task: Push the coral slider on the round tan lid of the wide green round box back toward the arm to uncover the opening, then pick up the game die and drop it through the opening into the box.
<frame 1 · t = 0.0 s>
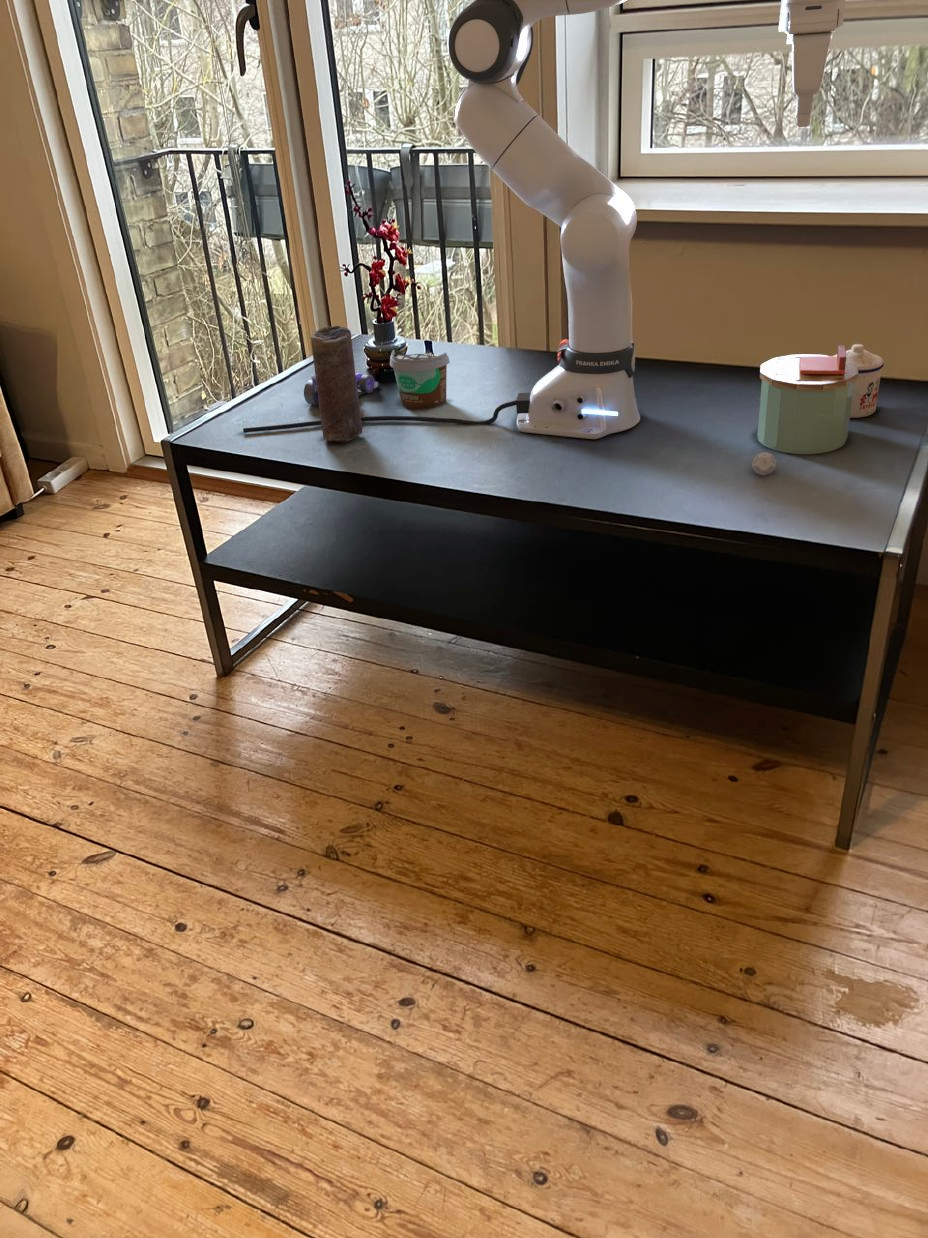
hand: (802, 122, 152), 48 cm above the table, tool pointing down, fingers open, 8 cm apart
round tan lid: (808, 371, 165), on the green round box, point 11 cm above the table
teacup with lid: (852, 408, 181), on the table
green round box: (801, 437, 171), on the table
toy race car: (345, 398, 207), on the table
food container: (418, 406, 199), on the table
game die: (763, 473, 160), on the table
slider: (822, 359, 163), point 14 cm above the table, slide at 0.0 cm
candle: (344, 439, 187), on the table
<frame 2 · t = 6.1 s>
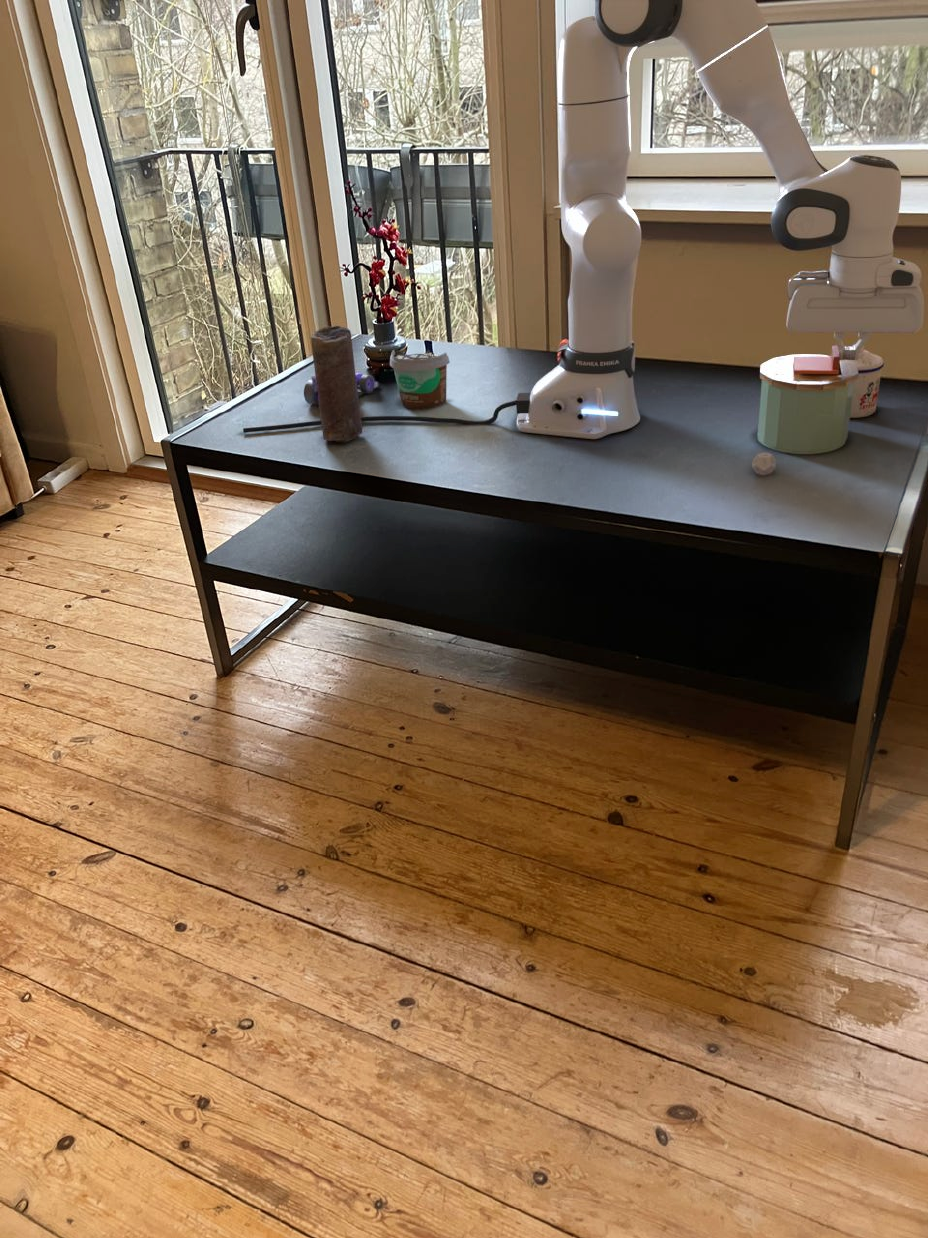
hand: (848, 358, 162), 14 cm above the table, tool pointing down, fingers closed
slider: (816, 358, 164), point 14 cm above the table, slide at 1.0 cm, touching gripper
everything else where it was.
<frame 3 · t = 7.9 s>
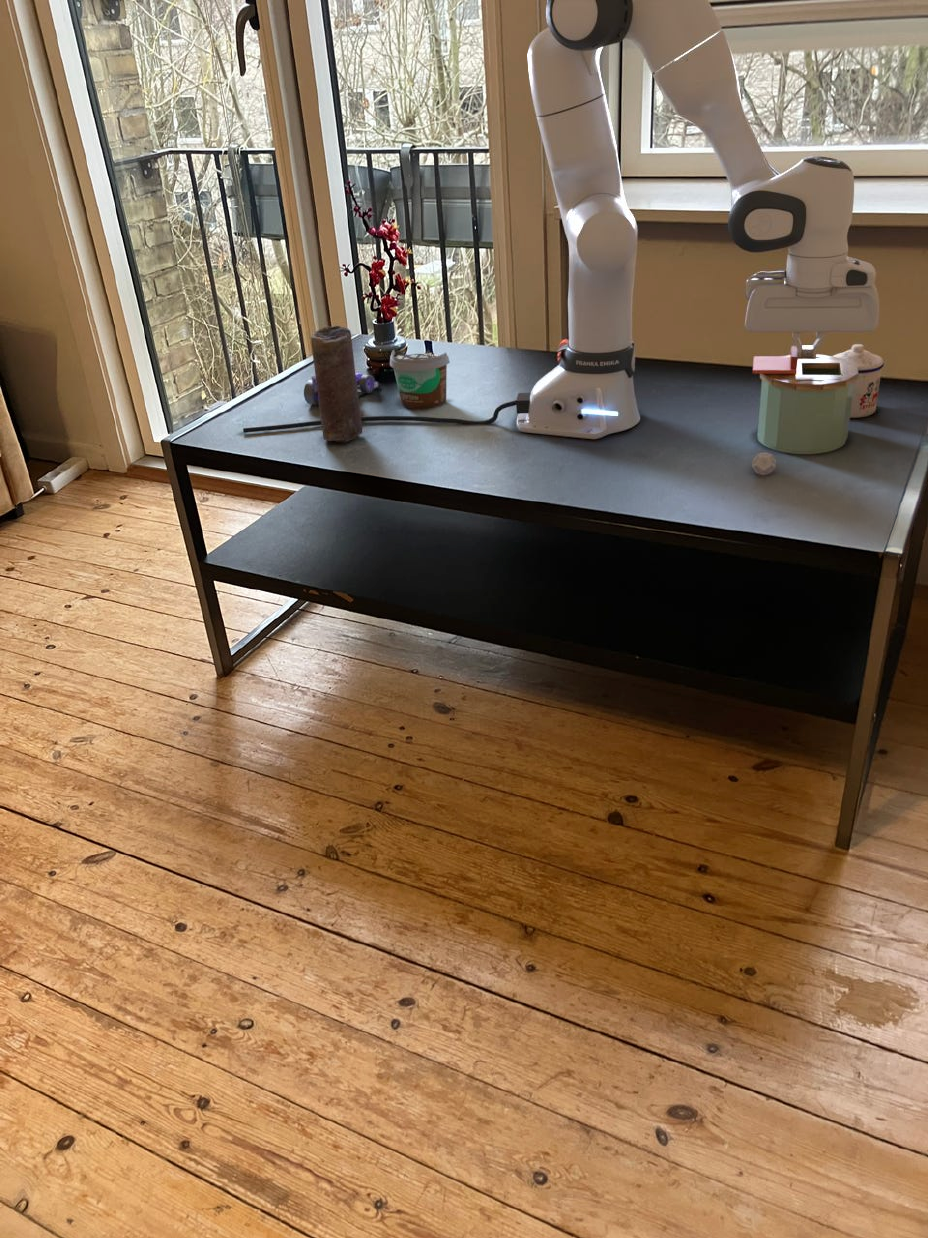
hand: (806, 357, 164), 14 cm above the table, tool pointing down, fingers closed
slider: (775, 358, 165), point 14 cm above the table, slide at 7.4 cm, touching gripper
everything else where it was.
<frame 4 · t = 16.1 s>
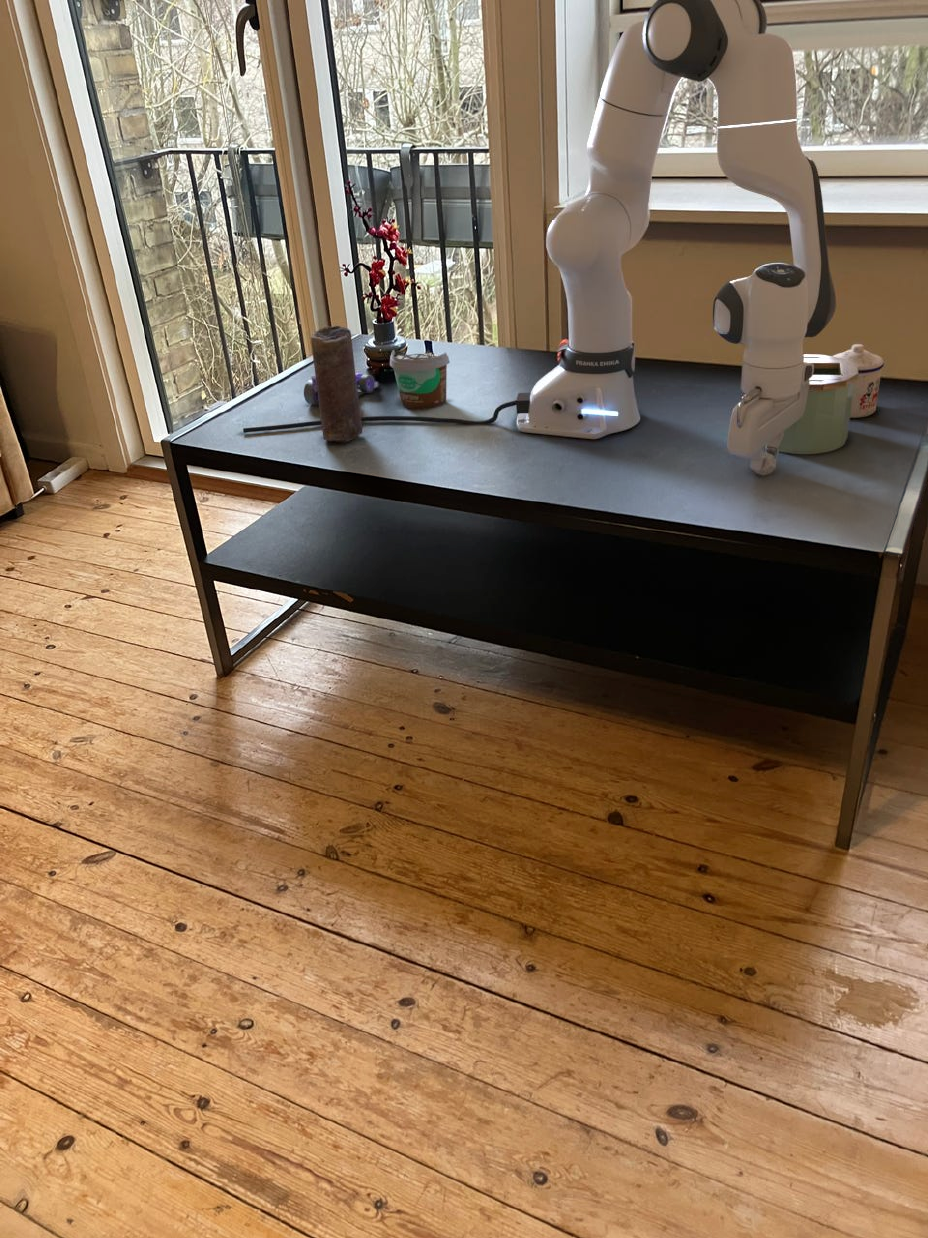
hand: (764, 463, 160), 2 cm above the table, tool pointing down, fingers closed on game die, 3 cm apart
game die: (763, 473, 160), on the table, touching gripper
slider: (773, 358, 165), point 14 cm above the table, slide at 7.6 cm
everything else where it was.
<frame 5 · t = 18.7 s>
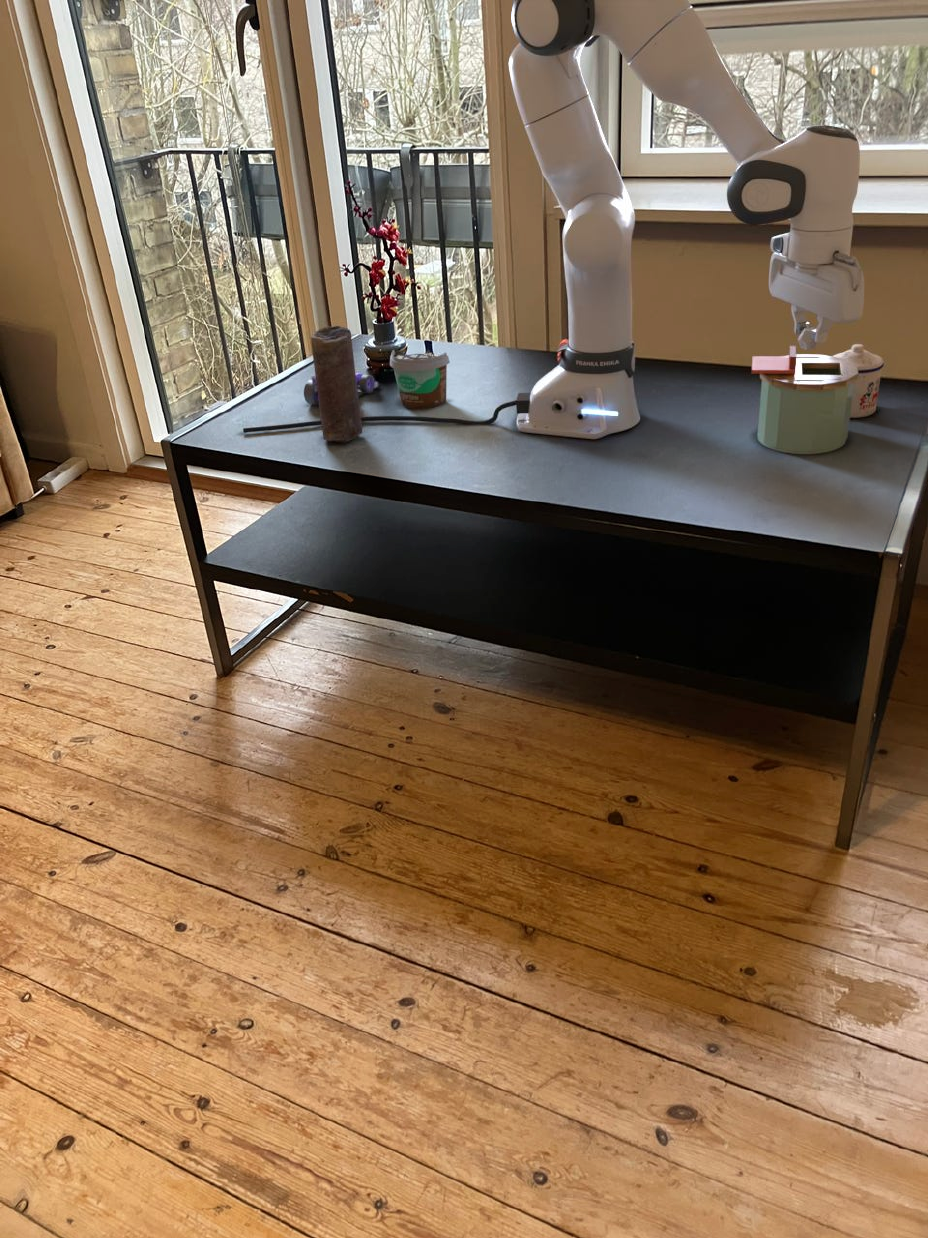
hand: (809, 337, 158), 18 cm above the table, tool pointing down, fingers closed on game die, 3 cm apart
game die: (809, 349, 158), point 17 cm above the table, touching gripper
everything else where it was.
when the fingers open (12 cm above the table, at t = 21.4 s): game die drops 6 cm, point 5 cm above the table.
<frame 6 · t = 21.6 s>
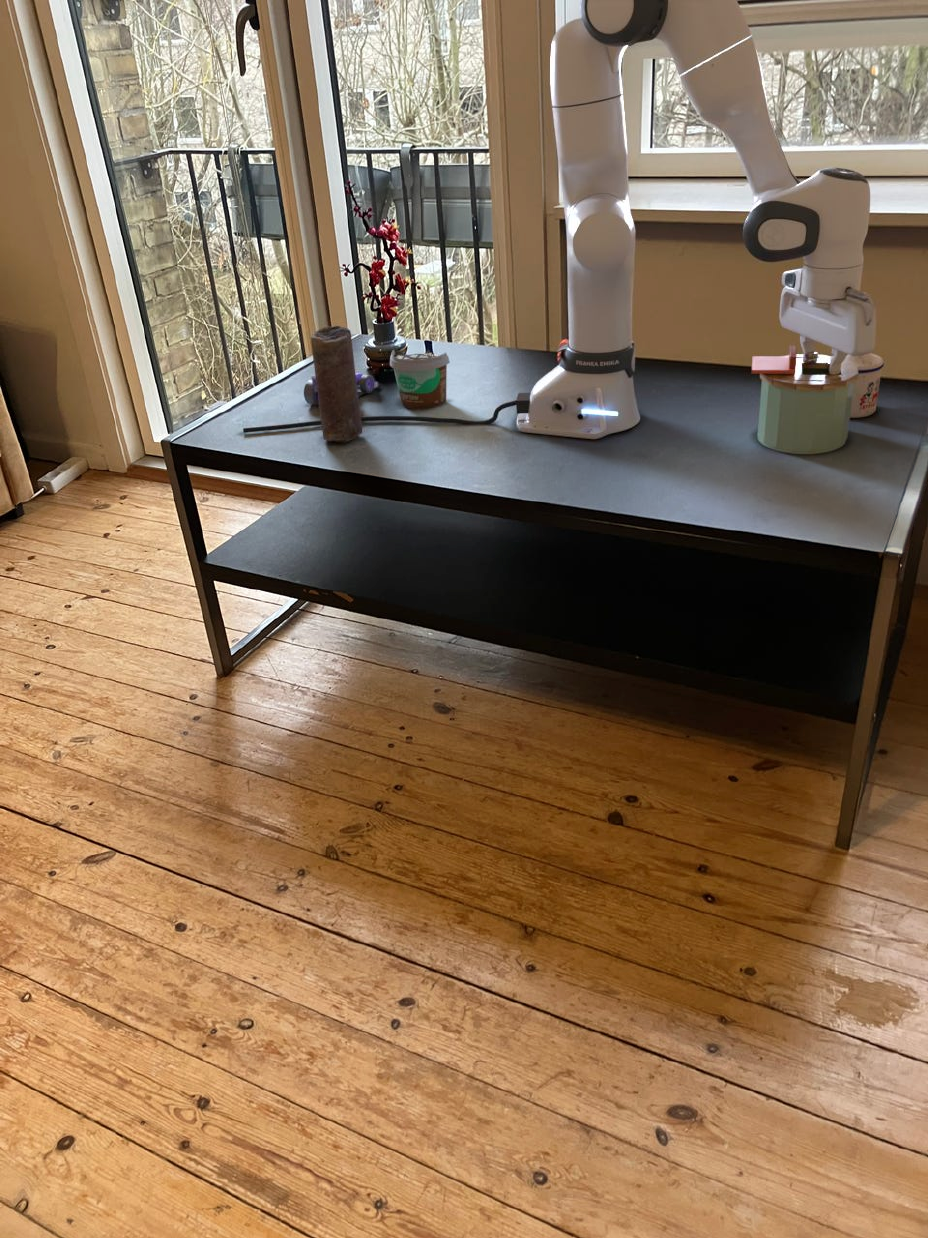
hand: (820, 368, 164), 12 cm above the table, tool pointing down, fingers open, 5 cm apart
game die: (814, 412, 168), point 5 cm above the table
everything else where it was.
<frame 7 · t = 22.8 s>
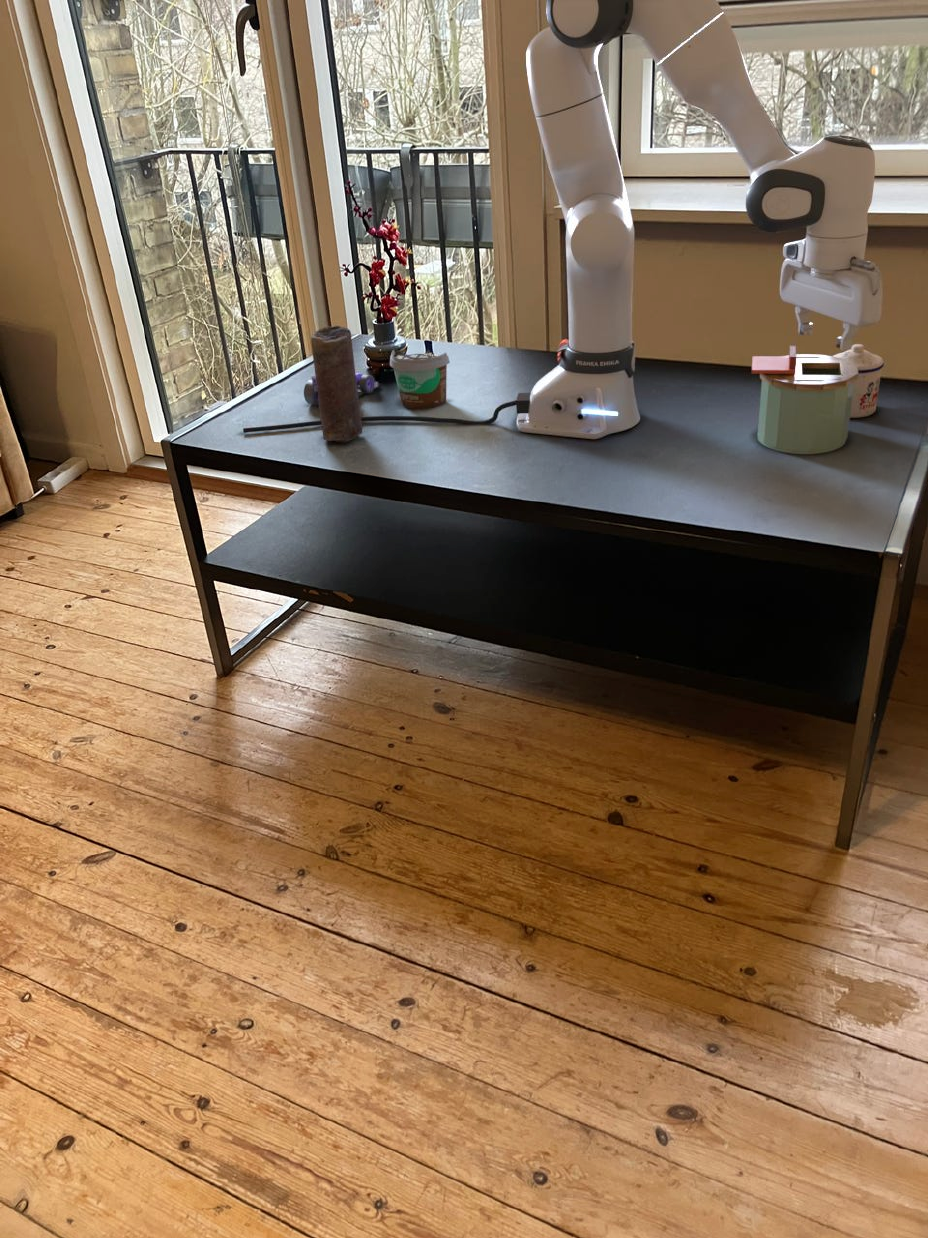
hand: (823, 341, 162), 16 cm above the table, tool pointing down, fingers open, 8 cm apart
game die: (785, 421, 168), point 4 cm above the table, touching green round box
everything else where it was.
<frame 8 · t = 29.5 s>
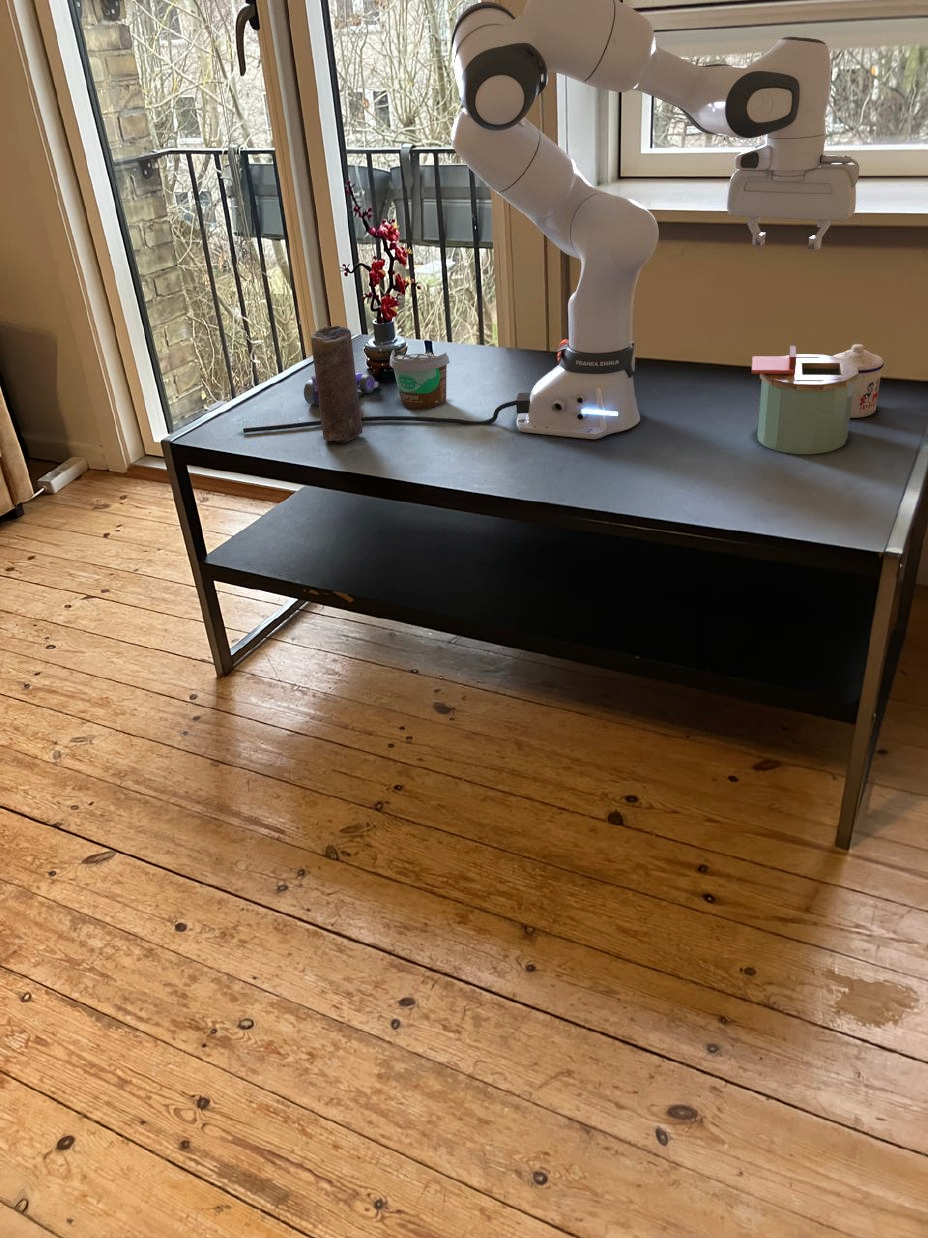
hand: (786, 246, 165), 29 cm above the table, tool pointing down, fingers open, 8 cm apart
nothing on the table moved.
at the end: slider slide at 7.6 cm; game die inside the target area in the green round box (3.8 cm from its centre), point 3.8 cm above the green round box's base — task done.
